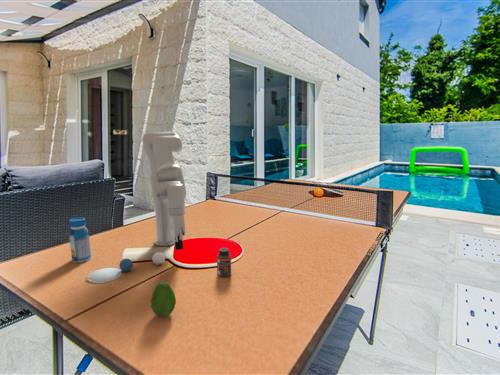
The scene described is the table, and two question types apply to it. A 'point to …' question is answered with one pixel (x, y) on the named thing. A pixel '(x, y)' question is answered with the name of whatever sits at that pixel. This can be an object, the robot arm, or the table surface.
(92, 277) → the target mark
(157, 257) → the cue ball
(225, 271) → the supplement bottle
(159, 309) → the avocado
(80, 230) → the blue medicine bottle
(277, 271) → the table surface
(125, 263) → the object ball
